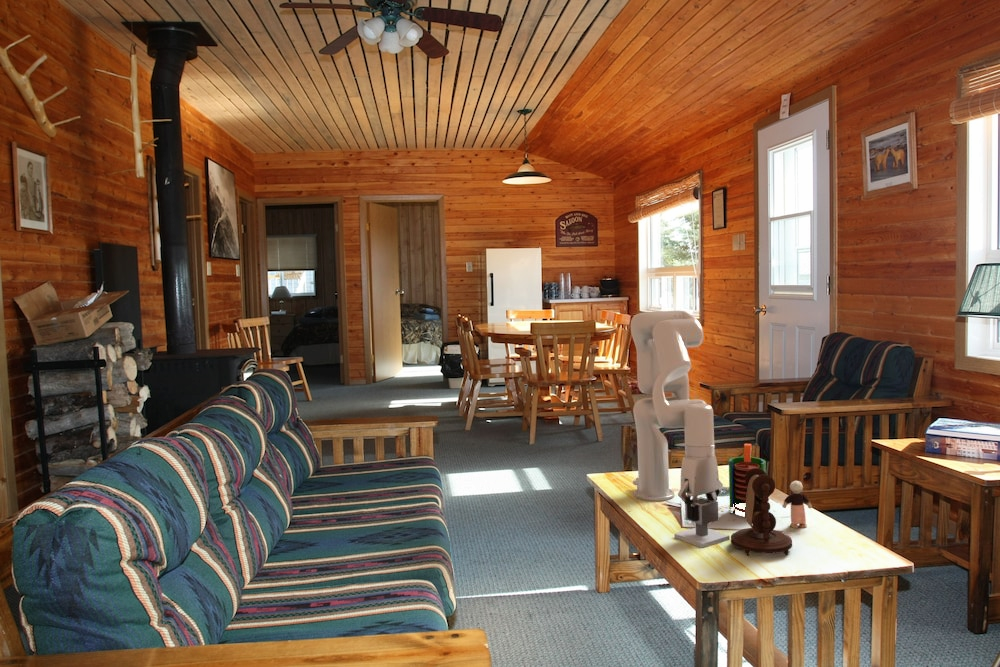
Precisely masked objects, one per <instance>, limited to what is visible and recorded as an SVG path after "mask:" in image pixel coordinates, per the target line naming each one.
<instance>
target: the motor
mask: <svg viewBox="0 0 1000 667" xmlns="http://www.w3.org/2000/svg"><path fill="white" fill-rule="evenodd" d="M751 454H752V443H744V445H743V456H736V457H731V458H730V459H728V479H729V480H728V485H729V493H728V494H729V508H730V507H733V504H734V507H735V505H736V504H739V503H746V494H747V488H748V485H747V484H746V482H745V476H746V473H747V472H748V471H749V470H750V469H753V468H760V469H762V470H763V471H765V473H766V474H767V470H766V469H767V468H766V467H767V466H766V464H767V462H766V460H765V459H763V458H759V457H755V456H752V455H751ZM735 503H736V504H735ZM757 503H758V502H757ZM735 509H737V510H739V511H742V512H745V510H743V509H739V508H737V507H735Z"/></svg>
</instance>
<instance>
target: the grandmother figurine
mask: <svg viewBox="0 0 1000 667" xmlns="http://www.w3.org/2000/svg"><path fill="white" fill-rule="evenodd" d="M789 488H790V490H791V492H792V494H789V495H788V496H786V498H784V500H783V504H782V505H781V506H782V508H783V509H786V508H787V506H788V505H789V504H790V522H791V523H790V524H789V526H790V527H791V528H793V529H799V527H800V528H803V529H804V528H807V527H808V524H807V522H806V521H807V519H806V511H805V505H804V503H805V504H806V506H807V508H808V509H812V508H813V506H812V503H811V501H810V500H809V498H808V497H807V496H806V495H805V494H803V493H801V492H802V491H803V488H804V487H803V483H802V482H801V481H800V480H794V481H792V482H791V483H790V485H789Z"/></svg>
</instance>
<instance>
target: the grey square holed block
mask: <svg viewBox="0 0 1000 667" xmlns="http://www.w3.org/2000/svg"><path fill="white" fill-rule="evenodd" d="M690 499H691V500H692V498H690ZM698 500H703V501H706V502H707V503H704V504H699V503H696V505H695V506H697V519H698V520H697V521H696V522H695V521H692V520H689V519H688V518H687V505H686V504H685V503H684V513H685V516H684V519H685V520H686V521H689V522H691V523H695V524H696V523H698V524H701V525H704V524H711V523H714V522H719V501H713V500H710V499H707V497H704V496H703V497H702V496H699V497H697V501H698Z"/></svg>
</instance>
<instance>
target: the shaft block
mask: <svg viewBox="0 0 1000 667" xmlns="http://www.w3.org/2000/svg"><path fill="white" fill-rule="evenodd" d="M696 503H699V504H704V503H707V502H706V501H703V500H698V501H696ZM708 524H709V523H708ZM708 524H704V525H701V524H698V523H695V527H692V528H689V529H687V530H683V531H679V532H675V533H674V538H676V539H678V540H682V541H683V542H687V543H689V544H692V545H694V546H698V547H700V548H706V547H709V546H712V545H716V544H720V543H723V542H725V541H729V540H731V535H729V534H726V533H724V532H720V531H717V530H714V529H713V528H712V529H710V528H709V527H708V526H709V525H708Z"/></svg>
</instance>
